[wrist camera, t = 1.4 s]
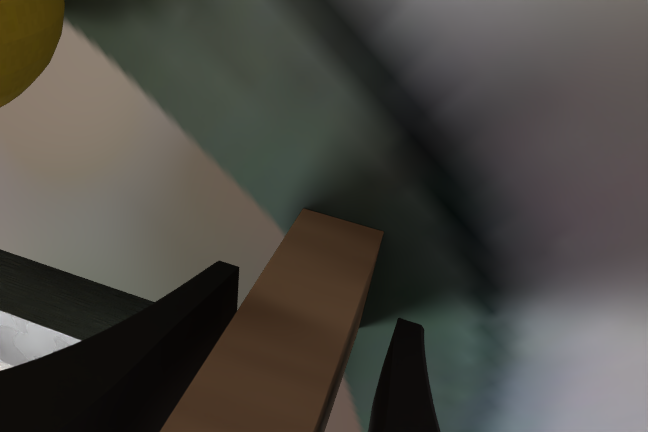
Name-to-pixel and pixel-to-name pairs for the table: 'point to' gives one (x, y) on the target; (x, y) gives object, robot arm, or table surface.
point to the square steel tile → (53, 309)
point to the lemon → (26, 42)
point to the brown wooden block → (287, 335)
